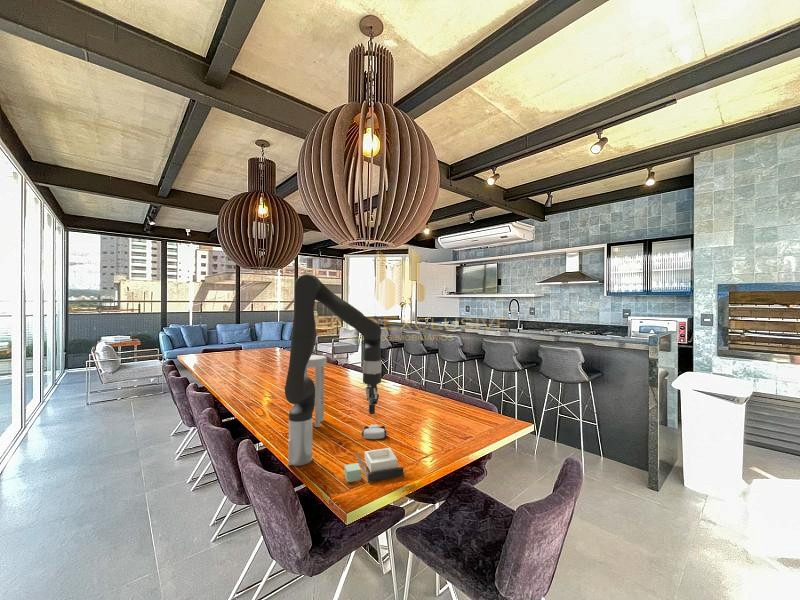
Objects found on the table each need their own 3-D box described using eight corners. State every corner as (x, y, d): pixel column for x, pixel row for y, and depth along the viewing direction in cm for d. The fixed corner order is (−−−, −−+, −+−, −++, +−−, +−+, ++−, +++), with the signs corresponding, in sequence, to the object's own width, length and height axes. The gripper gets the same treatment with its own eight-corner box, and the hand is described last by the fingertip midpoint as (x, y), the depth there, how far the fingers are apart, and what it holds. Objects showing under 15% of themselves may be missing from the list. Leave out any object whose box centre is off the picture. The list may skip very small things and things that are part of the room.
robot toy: (362, 432, 166) (360, 443, 151) (362, 423, 167) (360, 432, 152) (386, 432, 167) (387, 442, 152) (386, 422, 167) (387, 432, 152)
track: (368, 485, 116) (368, 474, 116) (355, 458, 137) (355, 448, 137) (403, 479, 120) (403, 468, 120) (385, 453, 141) (385, 443, 141)
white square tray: (371, 478, 118) (371, 463, 118) (364, 465, 128) (364, 451, 128) (397, 474, 122) (397, 459, 122) (389, 461, 131) (389, 447, 131)
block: (347, 486, 116) (347, 471, 116) (344, 478, 121) (344, 465, 121) (361, 483, 118) (361, 469, 118) (358, 476, 123) (358, 462, 123)
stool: (291, 429, 168) (292, 359, 168) (300, 418, 183) (300, 355, 183) (322, 429, 168) (323, 359, 168) (328, 418, 184) (328, 354, 184)
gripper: (359, 368, 141) (359, 409, 141) (367, 375, 128) (366, 420, 128) (376, 367, 143) (376, 407, 143) (385, 373, 131) (385, 418, 131)
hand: (371, 413), depth 136 cm, fingers closed
